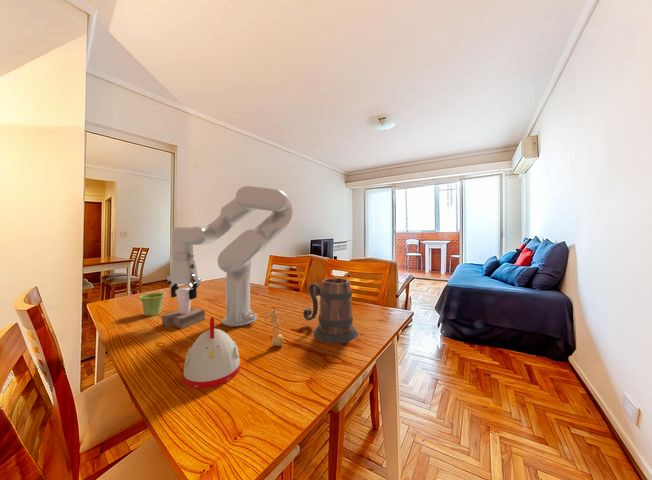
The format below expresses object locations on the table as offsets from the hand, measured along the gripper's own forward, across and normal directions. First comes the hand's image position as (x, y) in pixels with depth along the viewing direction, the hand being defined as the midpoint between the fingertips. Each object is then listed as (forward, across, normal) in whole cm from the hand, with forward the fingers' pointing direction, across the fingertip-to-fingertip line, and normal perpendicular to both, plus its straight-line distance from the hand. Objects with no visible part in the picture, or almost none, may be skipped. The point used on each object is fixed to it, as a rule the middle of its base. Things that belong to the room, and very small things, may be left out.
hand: (183, 297), depth 105 cm
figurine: (+11, -47, +6) cm, 48 cm away
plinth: (+10, 0, 0) cm, 10 cm away
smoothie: (+6, 0, 0) cm, 7 cm away
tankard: (+11, -60, -11) cm, 62 cm away
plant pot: (+10, +22, -3) cm, 25 cm away
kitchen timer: (+11, -39, +26) cm, 48 cm away
